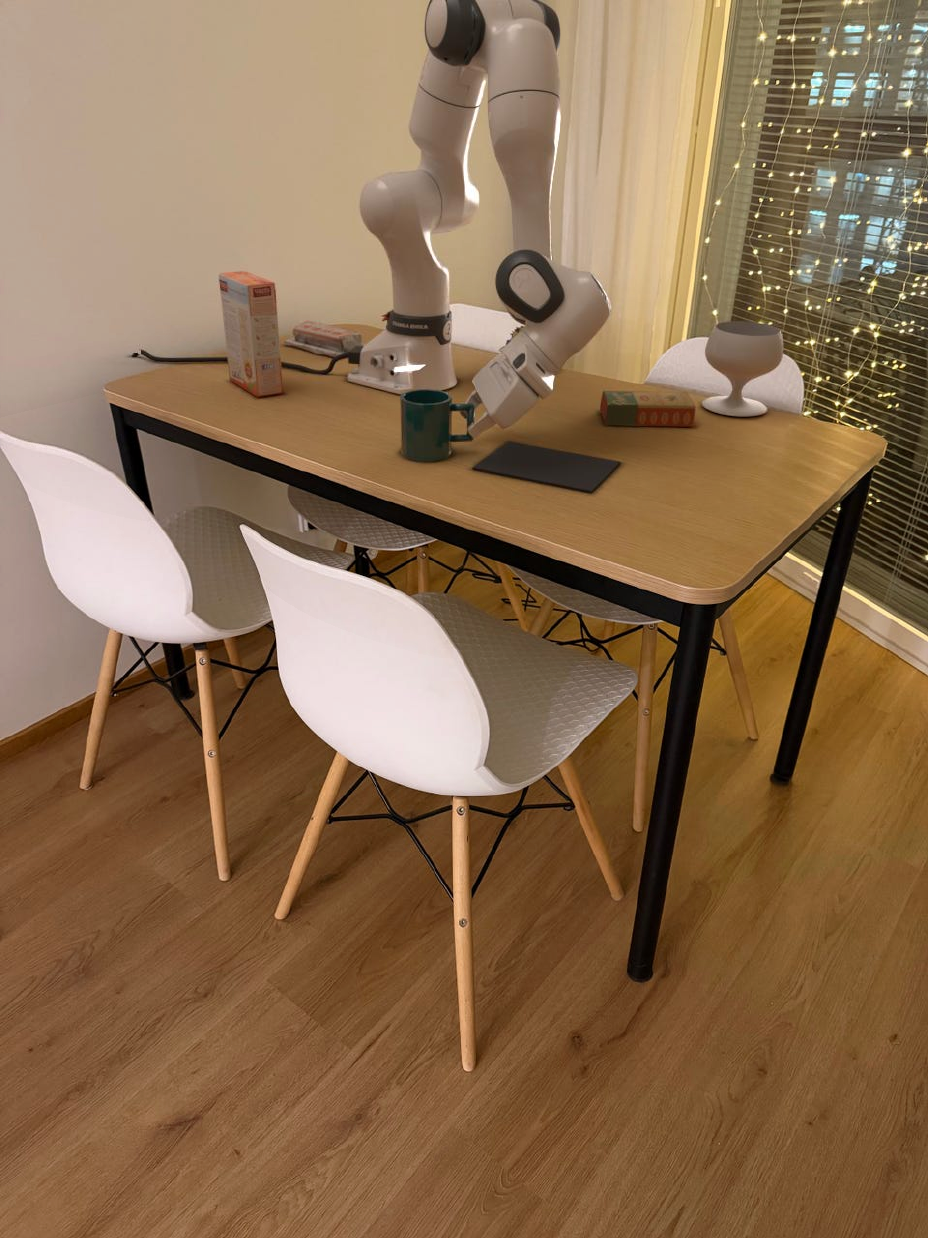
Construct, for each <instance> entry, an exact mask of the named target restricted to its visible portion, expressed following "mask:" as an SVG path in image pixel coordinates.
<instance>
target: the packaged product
mask: <svg viewBox="0 0 928 1238" xmlns="http://www.w3.org/2000/svg"><path fill="white" fill-rule="evenodd" d="M292 335H293V337H290V338H287V339H284V340H283V344H284V346H288V347H292V348H298V349H301V350H305V351H308V352H311V353H313V354H315V355H323V356H327V357H331V358H334V357H336V356H338V355H340V354H343V353H347V352H349V351H350V350H351V349H353V348H354V347H355V346H365V345H366V344H367V343H366V344H365V343H363V339H362V338H363V336H362V334H361V332H358V331H354V330H349V329H346V328H343V327H338V326H335V325H334V326H333V325H330V324H326V323H321V322H317V321H313V320H305V321H303V322H302V323H300V324H298V325H297V326H295V327H294V328H293V329H292Z"/></svg>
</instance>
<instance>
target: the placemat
mask: <svg viewBox="0 0 928 1238" xmlns="http://www.w3.org/2000/svg"><path fill="white" fill-rule="evenodd" d="M620 465H621V461H619V460H614V459H607V458H603V457H598V456H592V455H586V454H580V453H575V452H570V451H564V450H559V449H554V448H548V447H543V446H538V445H537V446H536V445H532V444H528V443H527V444H526V443H522V442H521V443H520V442H515V441H510V440H508V441H507V442H505V443H504V444H502V445H501V446H500V447H498V448H497V449H496V450H494V451H493V452H492V453H490V454H489V455H487V456H486V457H485V458H483V459H482V460H481V461H478V462H477V464H475V465H473V466H472V470H473V471H478V472H483V473H488V474H492V475H498V476H503V477H507V478H512V479H518V480H522V481H527V482H533V483H538V484H542V485H548V486H553V487H558V488H562V489H568V490H573V491H577V492H581V493H588V494H593V493H594V491H596V489H597V488H599V486H601V485H602V484H603V482H604V481H606V479H607V478H608V477H610V475H611V474H612V473H613V472H614V471H616V469H617V468H618V467H619V466H620Z"/></svg>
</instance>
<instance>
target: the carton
mask: <svg viewBox="0 0 928 1238" xmlns="http://www.w3.org/2000/svg"><path fill="white" fill-rule="evenodd" d="M696 408H697V407H696V404H695V402H694V401H693V399H692V397H691V395H690V394H689V393H688V392H687V391H686V392H685V391H634V390H633V391H629V390H626V391H625V390H621V391H619V390H603V391H602V395H601V399H600V406H599V410H600V413H601V416H602V419H603V422H604V424H605V426H630V427H631V426H635V427H637V426H638V427H642V426H643V427H684V428H685V427H686V428H687V427H694V424H695V417H696Z"/></svg>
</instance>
